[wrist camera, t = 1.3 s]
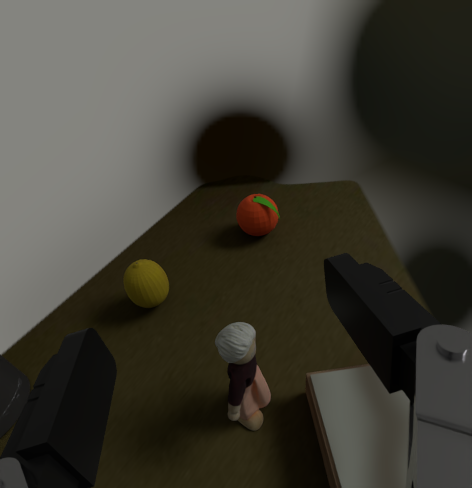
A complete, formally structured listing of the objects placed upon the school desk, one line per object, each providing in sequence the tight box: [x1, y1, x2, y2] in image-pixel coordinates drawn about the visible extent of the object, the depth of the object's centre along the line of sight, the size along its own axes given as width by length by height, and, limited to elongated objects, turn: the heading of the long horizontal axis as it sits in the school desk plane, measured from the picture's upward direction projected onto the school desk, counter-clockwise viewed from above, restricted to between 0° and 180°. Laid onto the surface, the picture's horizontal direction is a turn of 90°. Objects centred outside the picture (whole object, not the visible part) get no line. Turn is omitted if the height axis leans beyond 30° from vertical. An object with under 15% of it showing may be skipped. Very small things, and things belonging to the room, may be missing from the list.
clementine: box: [237, 194, 280, 236], centre depth 49 cm, size 8×7×7 cm
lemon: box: [124, 260, 169, 308], centre depth 40 cm, size 6×6×8 cm
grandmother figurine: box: [215, 322, 271, 431], centre depth 27 cm, size 8×4×13 cm, turn 178°
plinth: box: [306, 364, 409, 488], centre depth 25 cm, size 9×12×4 cm
